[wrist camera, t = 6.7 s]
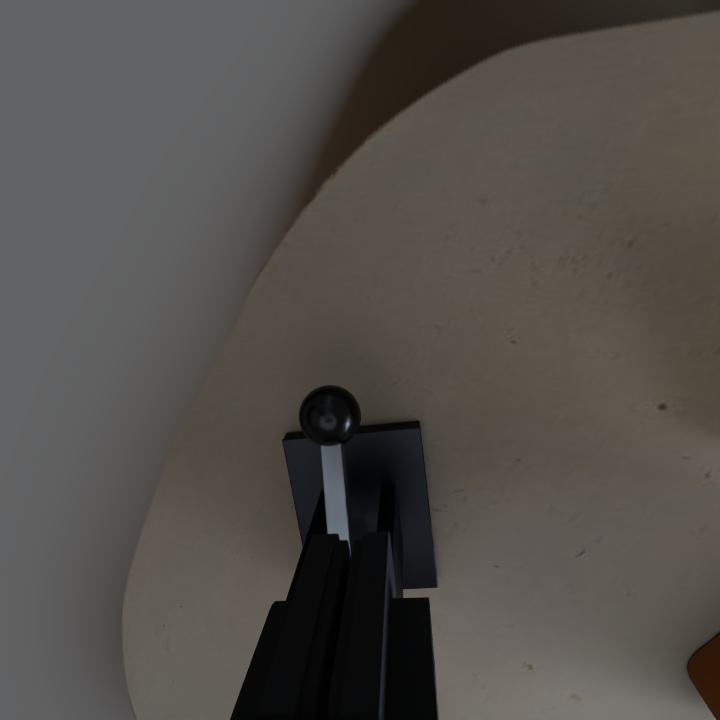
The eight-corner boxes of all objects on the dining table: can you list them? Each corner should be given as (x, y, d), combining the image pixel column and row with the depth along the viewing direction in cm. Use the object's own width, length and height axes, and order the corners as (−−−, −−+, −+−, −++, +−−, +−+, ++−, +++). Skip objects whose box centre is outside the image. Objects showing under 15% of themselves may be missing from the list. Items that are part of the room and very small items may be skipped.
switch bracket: (286, 432, 31) (220, 544, 20) (419, 420, 30) (429, 531, 19) (314, 582, 34) (270, 753, 23) (437, 575, 33) (454, 752, 22)
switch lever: (305, 390, 26) (289, 386, 23) (361, 384, 26) (353, 380, 22) (324, 637, 24) (310, 670, 21) (385, 634, 24) (379, 668, 21)
